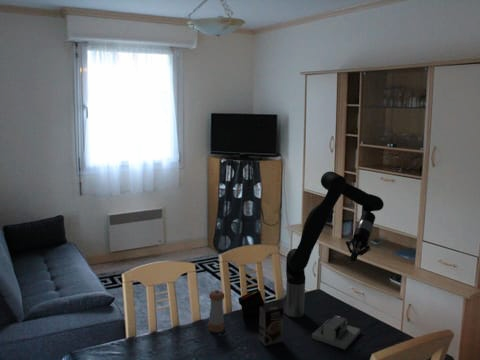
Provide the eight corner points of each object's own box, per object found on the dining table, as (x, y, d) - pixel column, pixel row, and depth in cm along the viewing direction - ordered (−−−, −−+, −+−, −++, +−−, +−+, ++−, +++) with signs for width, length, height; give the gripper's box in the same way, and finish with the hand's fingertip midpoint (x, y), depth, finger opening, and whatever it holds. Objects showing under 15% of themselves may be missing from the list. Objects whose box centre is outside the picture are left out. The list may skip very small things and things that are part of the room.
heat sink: (320, 333, 217) (321, 325, 216) (328, 326, 223) (328, 318, 222) (341, 340, 211) (341, 332, 210) (348, 333, 217) (348, 325, 217)
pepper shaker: (212, 333, 218) (213, 294, 215) (206, 327, 224) (206, 288, 221) (226, 330, 222) (227, 291, 218) (219, 323, 228) (220, 286, 225)
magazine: (272, 317, 232) (259, 291, 229) (247, 328, 232) (234, 303, 229) (270, 313, 236) (258, 288, 233) (246, 325, 236) (234, 299, 232)
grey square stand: (311, 338, 216) (312, 320, 215) (328, 323, 231) (329, 306, 229) (344, 349, 207) (346, 331, 206) (360, 333, 222) (361, 316, 220)
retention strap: (335, 317, 223) (323, 327, 213) (335, 314, 223) (324, 325, 213) (346, 320, 220) (335, 331, 210) (346, 318, 220) (335, 328, 210)
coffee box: (265, 346, 209) (266, 312, 206) (258, 339, 214) (259, 306, 211) (282, 341, 213) (284, 308, 210) (275, 335, 218) (276, 302, 215)
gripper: (349, 224, 240) (337, 254, 232) (374, 229, 232) (364, 260, 224) (352, 232, 245) (341, 261, 237) (377, 237, 237) (367, 267, 230)
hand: (352, 261), depth 231 cm, fingers closed
